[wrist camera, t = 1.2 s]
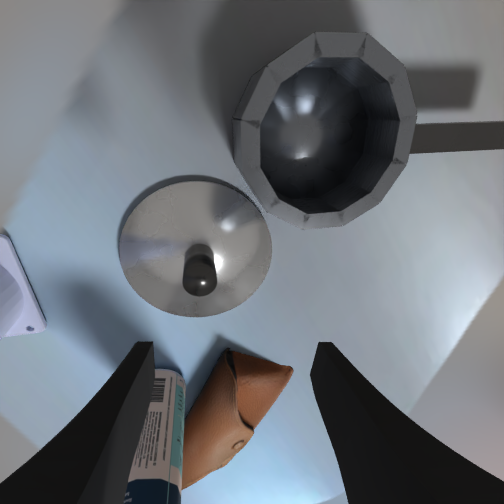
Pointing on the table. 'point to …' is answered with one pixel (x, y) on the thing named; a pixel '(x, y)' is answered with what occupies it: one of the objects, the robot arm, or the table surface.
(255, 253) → the lid
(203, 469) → the sunglasses case
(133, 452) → the robot arm
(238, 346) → the table surface
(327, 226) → the saucepan
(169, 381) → the white labeled canister
